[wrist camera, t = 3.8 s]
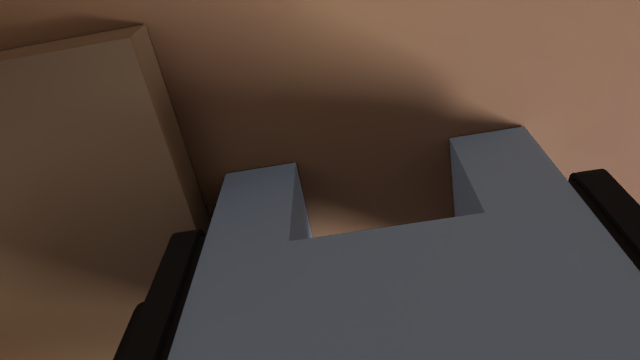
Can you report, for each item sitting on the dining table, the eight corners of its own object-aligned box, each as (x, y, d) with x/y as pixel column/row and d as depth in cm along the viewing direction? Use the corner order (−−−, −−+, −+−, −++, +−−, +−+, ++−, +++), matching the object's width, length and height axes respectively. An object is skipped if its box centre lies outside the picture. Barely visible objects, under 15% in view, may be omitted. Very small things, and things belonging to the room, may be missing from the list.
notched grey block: (256, 276, 14) (191, 687, 7) (226, 173, 12) (104, 559, 5) (524, 239, 13) (748, 644, 6) (524, 126, 12) (813, 489, 5)
